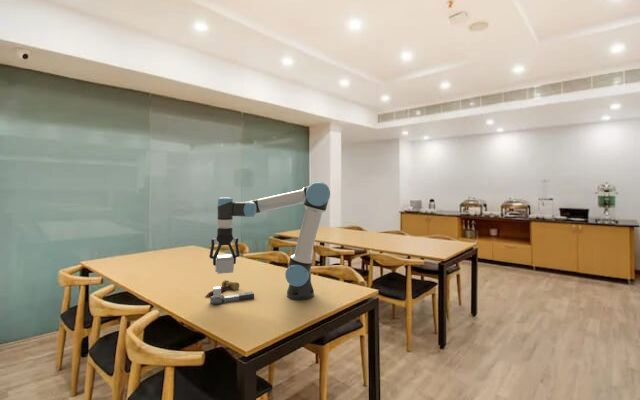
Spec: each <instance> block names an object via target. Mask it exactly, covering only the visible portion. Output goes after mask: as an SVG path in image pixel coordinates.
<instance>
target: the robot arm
mask: <svg viewBox="0 0 640 400" xmlns="http://www.w3.org/2000/svg"><path fill="white" fill-rule="evenodd" d="M330 197H331V190H330V187H329V186H328V185H327V184H326V183H324V182H323V181H315V182H312V183H311V184H310V185H307V186H303V188H302V189H299V190H298V189H297V190H295V191H293V190H292V191H290V192H289V191H288V192H285V193H279V194H276V195H271V196H266V197H262V198H258V199H257V198H256V199H251V200H247V201H234V199H233V197H219V198H218V200H217V229H216V230H217V231H216V237H215V238H211V239H210V241H211V243H210V251H209V258H210V259H211V260H212V264H213V266H214V271H215V273H217V258H216V257H217V255H219V252H220V250H221V248H222V246H227V247H228V249H229V251H230V254H231V255H232V256H233V272H234V270H235V269H234V268H235V267H234V266H235V265H236V263H237V262H236V261H237V258H239V257H240V250H239V249H240V248H239V238H238V237H234V236H233V226H234V225H233V223H234V222H233V220H234V219H233V217H245V218H246V217H247V218H249V217H256V214H259V213H264V212H268V211H272V210H277V209H282V208H287V207H292V206H297V205H302V204H303V207H304V208H305V211H304V215H303V218H302V223H301V227H300V230H299V233H298V238H297V241H296V242H297V243H296V246H295V249H294V253H293V254H291V255H290V256H289V262H288V266H287V267H286V270H285V279H286V281H287V283H288V288H287V290H286V297H288V299H291V300H298V301H299V300H301V301H302V300H309V299H312V298H313V297H314V296H315V291H314V288H313V284H312V280H311V279H312V272H311V271H312V264H313V259H312V253H313V249H314V245H315V241H316V237H317V234H318V230H319V226H320V223H321V218H322V215H323V213H324V212H326V211H327V209H328V208H327V206H328V203H329V200H330ZM216 242H218V244H217V247H216V250H215V252H214V248H215V244H216ZM232 242H234V246H235V247H234V248H235V251H234V248H233V246H232Z"/></svg>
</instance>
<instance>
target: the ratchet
mask: <svg viewBox="0 0 640 400" xmlns="http://www.w3.org/2000/svg"><path fill="white" fill-rule="evenodd" d="M221 287H222V286H220V285H219V286H213V289H212V291H213V296H211V297H209V300H210V305H211V304H212V306H220V305H223V304H225V303H226V304H227V303H233V302H238V301H248V300H249V301H250V300H254V299H255V293H254V292H253V291H247V292H238V293H237V294H231V295H223V294H222V292H221Z"/></svg>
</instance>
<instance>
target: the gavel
mask: <svg viewBox="0 0 640 400" xmlns="http://www.w3.org/2000/svg"><path fill="white" fill-rule="evenodd" d="M220 287H221V293H222V292H224V291H227V289H229V290H232V291H237V290H239V288H240V283H239V282H236V281H229V280H226V279H224V280H223V281H222V283H221V286H220ZM210 296H213V290H212V291H209V292H208V293H207V294H206V295H205V296H204V297H205V298H210Z"/></svg>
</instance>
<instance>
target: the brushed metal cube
mask: <svg viewBox="0 0 640 400" xmlns="http://www.w3.org/2000/svg"><path fill="white" fill-rule="evenodd" d="M216 258H217V272H216V274H218V275H220V274H230V273H231V274H232V273H234V271H233V255H232V253H229V254H227V253H226V254H218V255H217V257H216Z"/></svg>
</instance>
